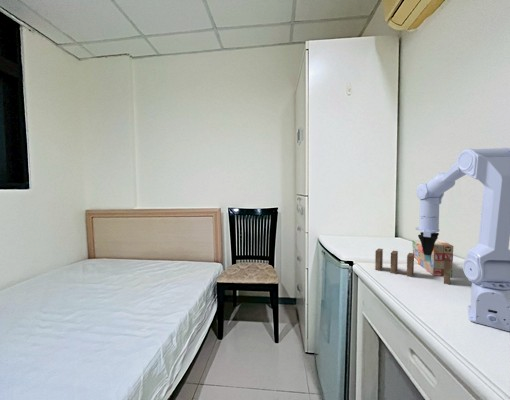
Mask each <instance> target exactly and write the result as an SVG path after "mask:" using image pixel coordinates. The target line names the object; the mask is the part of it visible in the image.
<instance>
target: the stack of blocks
mask: <svg viewBox="0 0 510 400" xmlns="http://www.w3.org/2000/svg"><path fill="white" fill-rule="evenodd" d="M412 253H414V258H415V259H416V260H417V261H418V263H417V264H418V265H419V266H420V267H421V268H422V269H424V270H425V271H426V272H428V273H429V274H430V275H432V276H433V277H444V260H445V258H450V278H452V277H453V263H454V262H453V261H454V245H453V244H450V243H449V242H446V241H444V240H441V239H438V238H437V240H436V241H435V244H434V248H433V251H432V254H431V260H430V262H428V261H425V255H424V253H423V248H422V244H421V241H420V240H415V239H414V240H412Z"/></svg>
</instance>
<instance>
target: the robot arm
mask: <svg viewBox="0 0 510 400" xmlns="http://www.w3.org/2000/svg"><path fill="white" fill-rule="evenodd" d="M466 175H467V176H468V177H471V178H473V179H475V180H478V181H479V182H481V184H482V185H483V192H482V194H483V195H482V200H481V201H482V204H481V213H480V223H479V232H478V233H479V234H478V243H477V244H476V245H475V246H474V247H472V248H471V249H468V250H467V252H466V257H465V259H464V261H463V264H462V271H463V274H464V275H465V277H466V278H467V279H468V281H469V282H471V288H470V289H471V290H470V291H471V294H470V295H471V296H470V304H469V305H468V306H467V308H468V309H467V310H468V320H469V321H470V322H473V323H476V324H480V325H484V326H488V327H490V328H495V329H498V330H502V331H506V332H510V249H509V246H510V147H500V148H465V149H464V150H462V151H461V152H460V153H459V154H457V156H456V162H454V164H453V165H452V166H451V167H450V168H449V169H448V170H447V171H446V172H437V173H436V175H435V176H434V177H433V178H432V179H431V180H428V182H427V183H419V184H418V186H417V187H416V188H417V189H416V197H417V198H418V200H419V227H418V226H417V227H415V230H417V231H420V234H418V240H419V241H421V244H422V248H423V253H424V255H430V256H431V254H432V251H433V248H434V244H435V241H436V240H437V239H438V238H439V237H438V236H439V235H440V233H439V232H440V227H439V226H440V205H441V204H442V200H443V197H444V195H445V193H446V192H447V191H448V190H450V189H452V188H453V187H454V186H455V185H456V181H457V180H460V178H463V177H464V176H466Z"/></svg>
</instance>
